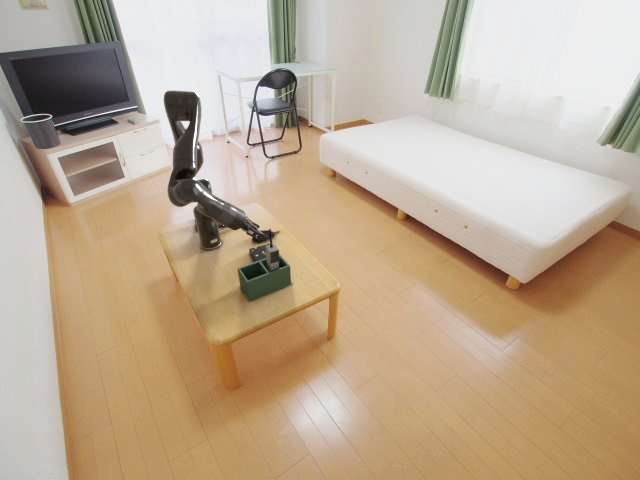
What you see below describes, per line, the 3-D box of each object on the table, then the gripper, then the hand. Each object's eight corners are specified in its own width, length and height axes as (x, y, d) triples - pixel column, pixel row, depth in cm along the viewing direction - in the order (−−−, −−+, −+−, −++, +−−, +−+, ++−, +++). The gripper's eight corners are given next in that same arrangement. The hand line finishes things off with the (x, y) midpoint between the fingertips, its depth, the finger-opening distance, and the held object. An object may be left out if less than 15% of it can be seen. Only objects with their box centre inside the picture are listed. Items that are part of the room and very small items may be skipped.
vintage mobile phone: (272, 284, 137) (268, 234, 123) (268, 277, 141) (263, 227, 127) (281, 282, 139) (277, 231, 125) (276, 275, 142) (272, 225, 128)
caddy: (240, 286, 138) (237, 268, 132) (280, 271, 146) (279, 253, 140) (249, 301, 131) (246, 282, 126) (291, 284, 139) (290, 265, 134)
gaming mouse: (282, 234, 169) (281, 228, 167) (256, 245, 161) (255, 238, 159) (275, 229, 173) (274, 222, 171) (249, 239, 165) (248, 232, 163)
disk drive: (249, 253, 156) (259, 272, 145) (248, 248, 155) (258, 267, 144) (270, 247, 160) (281, 265, 149) (269, 243, 159) (281, 260, 148)
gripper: (242, 215, 107) (277, 234, 119) (227, 197, 117) (260, 216, 129) (229, 234, 108) (264, 251, 120) (214, 214, 118) (249, 232, 130)
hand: (262, 233), depth 124 cm, fingers open, 8 cm apart
